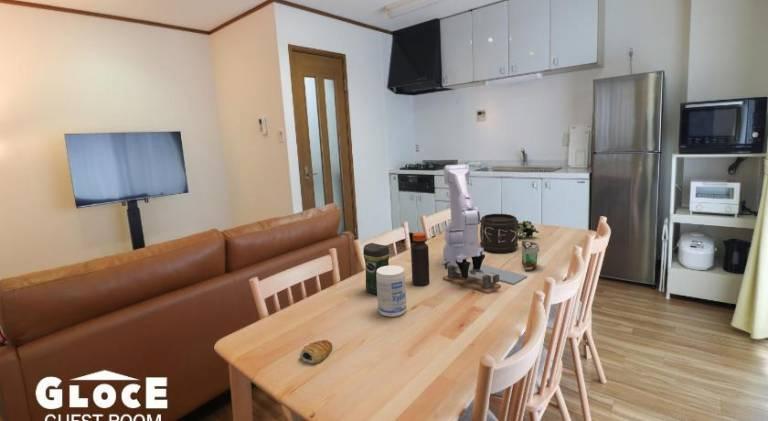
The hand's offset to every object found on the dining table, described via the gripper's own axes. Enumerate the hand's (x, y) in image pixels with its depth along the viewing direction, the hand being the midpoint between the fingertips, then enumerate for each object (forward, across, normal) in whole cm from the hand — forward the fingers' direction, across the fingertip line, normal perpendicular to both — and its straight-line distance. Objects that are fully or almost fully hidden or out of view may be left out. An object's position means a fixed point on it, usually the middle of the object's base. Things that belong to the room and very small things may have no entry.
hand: (470, 275), depth 149 cm
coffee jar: (+4, -28, +22) cm, 36 cm away
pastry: (+4, -68, +3) cm, 68 cm away
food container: (+4, +30, -9) cm, 32 cm away
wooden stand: (+3, 0, 0) cm, 3 cm away
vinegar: (+4, -12, +15) cm, 20 cm away
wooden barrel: (+4, +44, +15) cm, 47 cm away
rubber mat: (+3, +14, 0) cm, 14 cm away
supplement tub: (+4, -36, +6) cm, 37 cm away
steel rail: (0, 0, 0) cm, 0 cm away
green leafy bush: (+4, +67, +14) cm, 69 cm away
